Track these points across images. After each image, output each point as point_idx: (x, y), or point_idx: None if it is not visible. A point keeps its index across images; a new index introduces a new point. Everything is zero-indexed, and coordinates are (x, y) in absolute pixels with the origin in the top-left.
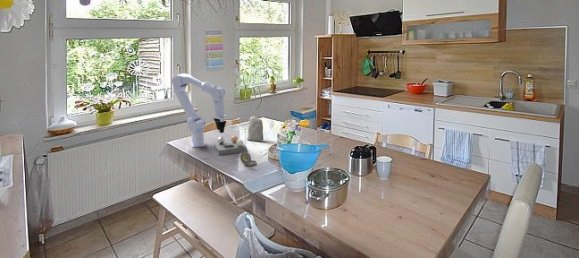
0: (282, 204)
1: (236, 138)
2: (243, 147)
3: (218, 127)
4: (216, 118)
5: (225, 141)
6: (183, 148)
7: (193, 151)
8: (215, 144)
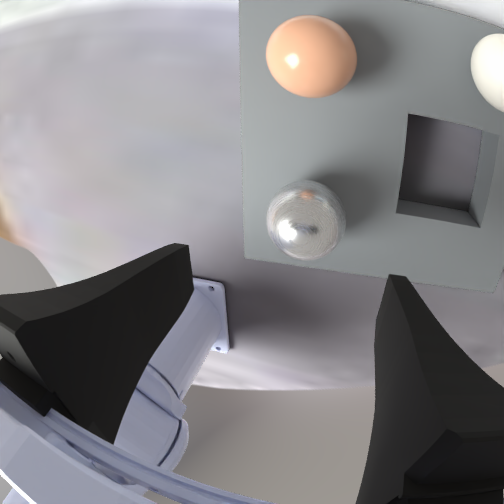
0: None
1: (349, 37)
2: None
3: (173, 300)
4: (74, 420)
5: (249, 144)
6: (223, 378)
7: (305, 367)
8: (313, 261)
